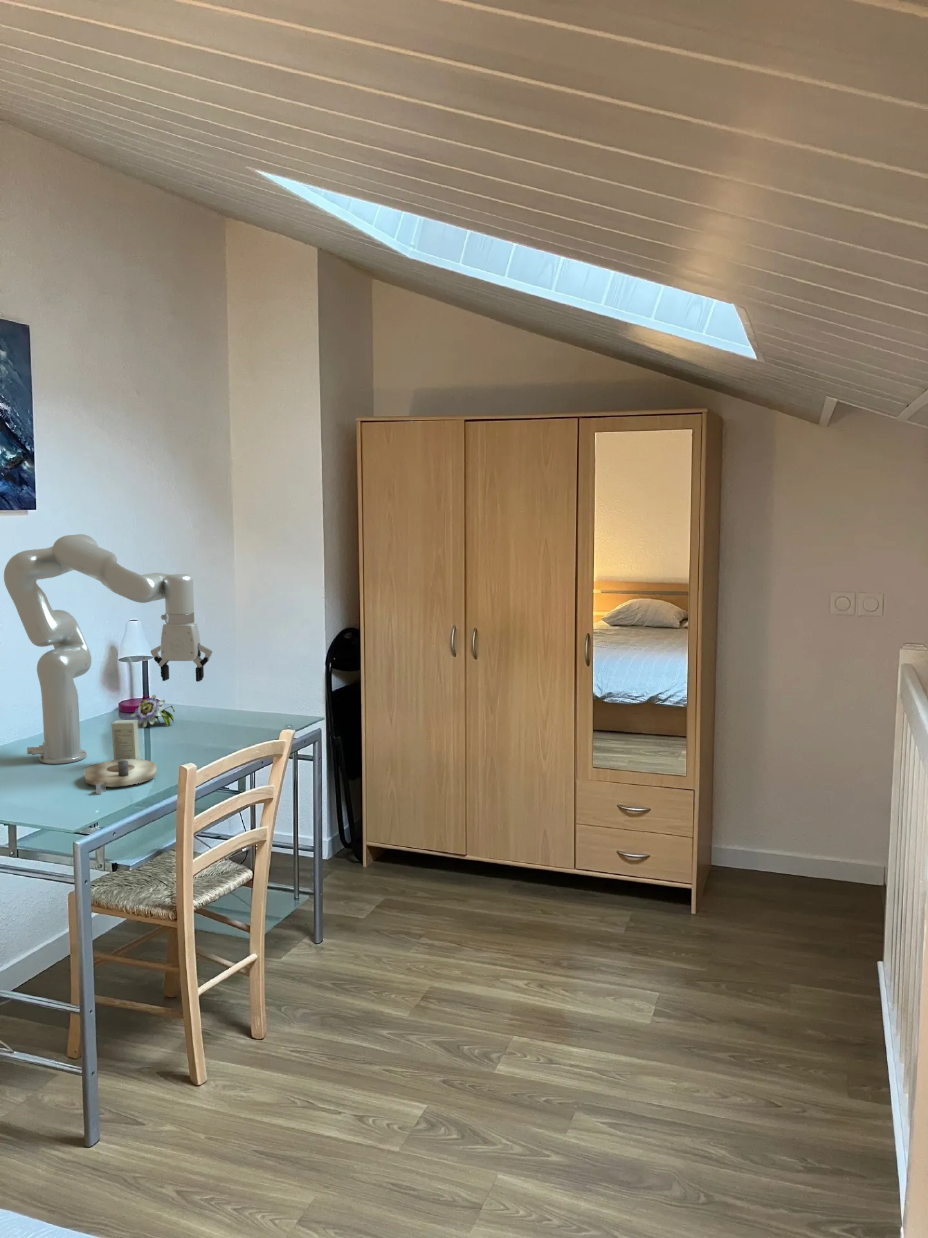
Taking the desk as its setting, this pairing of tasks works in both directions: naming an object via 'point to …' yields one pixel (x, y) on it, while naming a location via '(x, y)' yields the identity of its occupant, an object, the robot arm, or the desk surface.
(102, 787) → the grey small block
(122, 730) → the skincare box
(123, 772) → the turntable
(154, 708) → the passion flower
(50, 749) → the robot arm
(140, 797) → the desk surface
